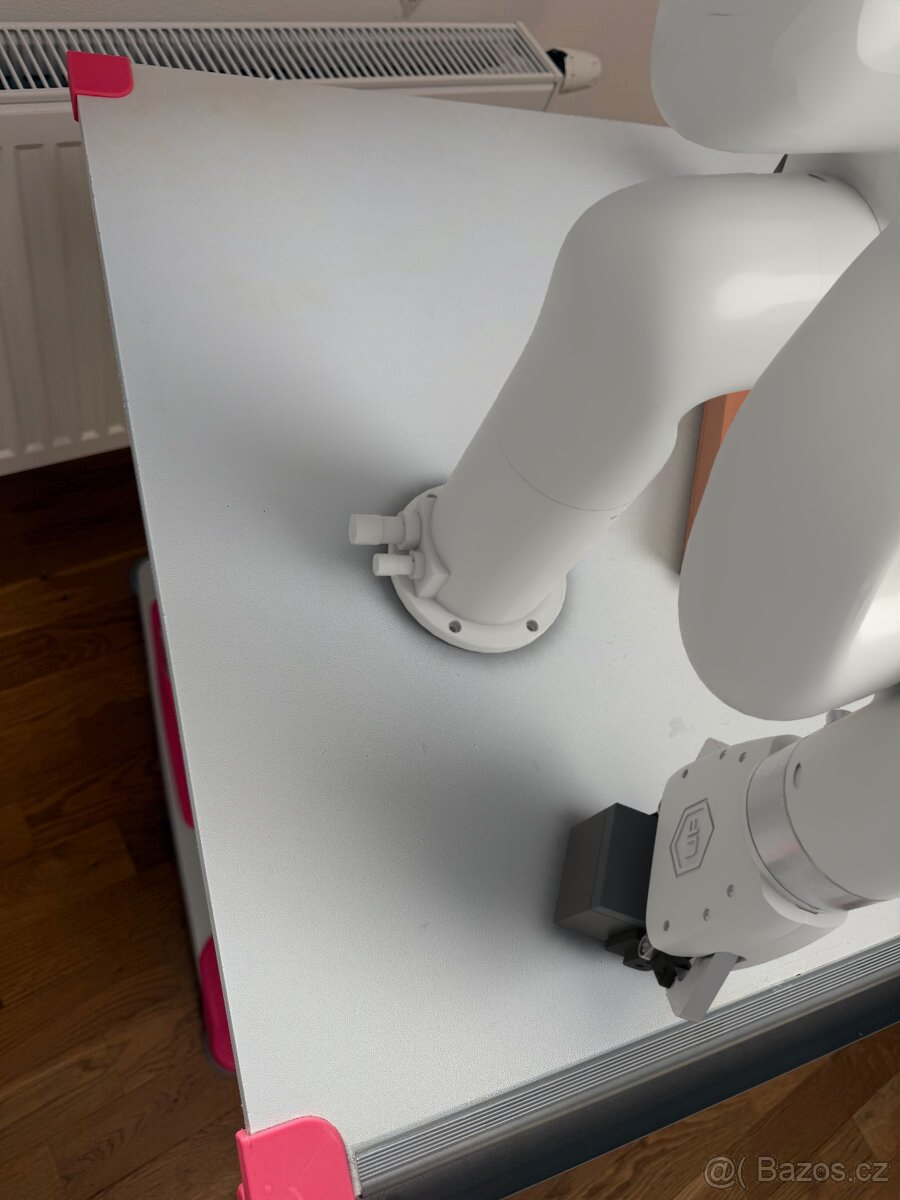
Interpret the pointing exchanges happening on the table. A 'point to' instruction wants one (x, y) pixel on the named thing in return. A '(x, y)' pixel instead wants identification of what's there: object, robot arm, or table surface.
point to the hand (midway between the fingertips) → (636, 895)
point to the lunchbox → (607, 873)
